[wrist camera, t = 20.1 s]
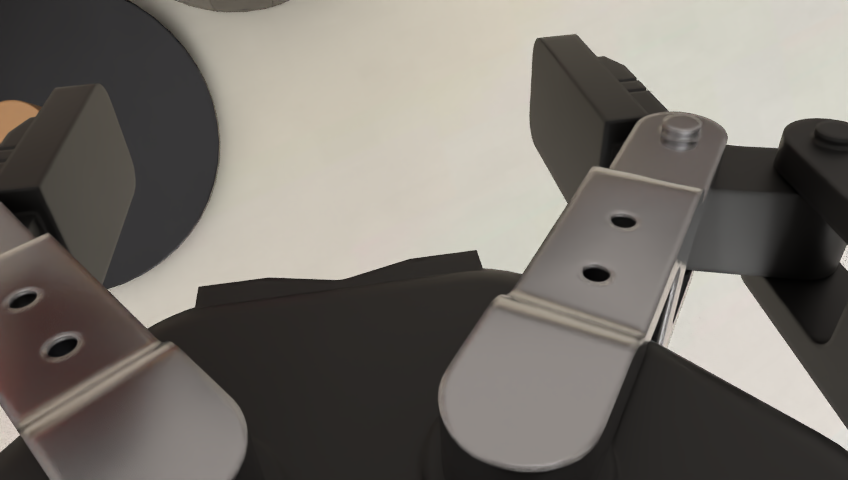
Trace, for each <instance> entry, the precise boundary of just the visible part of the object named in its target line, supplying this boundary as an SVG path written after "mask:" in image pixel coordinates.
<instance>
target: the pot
mask: <svg viewBox="0 0 848 480" xmlns="http://www.w3.org/2000/svg"><path fill="white" fill-rule="evenodd" d="M175 1H178V2H181V3H183V4H186V5H189V6H193V7H197V8H201V9H205V10H212V11H217V12H218V11H221V12H247V11H254V10H261V9H266V8H269V7H273V6H276V5H279V4H282V3H284V2H287V1H289V0H175Z"/></svg>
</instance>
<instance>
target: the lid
mask: <svg viewBox="0 0 848 480" xmlns="http://www.w3.org/2000/svg"><path fill="white" fill-rule="evenodd" d="M96 83H99V84H101V85H102V86H103V87H104V88H105V90H106V91H107V93H108V95H109V98H110V100H111V103H112V106H113V109H114V111H115V114H116V117H117V120H118V122H119V125H120V128H121V131H122V134H123V136H124V139H125V142H126V145H127V147H128V150H129V153H130V156H131V159H132V162H133V166H134V171H135V181H136V184H135V192H134V195H133V198H132V201H131V204H130V207H129V210H128V212H127V215H126V218H125V221H124V224H123V227H122V230H121V233H120V236H119V238H118V241H117V244H116V247H115V250H114V253H113V256H112V259H111V262H110V265H109V267H108V270H107V273H106V276H105V279H104V282H103V286H104V287H105V288H106V289H109V288H112V287H115V286H118V285H121V284H124V283H126V282H128V281H130V280H132V279H134V278H136V277H138V276H141V275H143V274H144V273H146V272H148V271H149V270H151V269H152V268H154V267H155V266H157V265H158V264H160V263H161V262H163V261H164V260H165V259H166V258H167V257H168V256H170V255H171V254H172V253H173V252H174V251H175V250H176V249H178V247H179V246H180V245H181V244H182V243H183V242H184V241H185V240H186V238H187V237H188V236H189V235H190V234H191V232H192V231H193V229H194V228H195V226H196V225H197V223H198V222H199V220H200V219H201V217H202V215H203V213H204V211H205V209H206V207H207V205H208V203H209V201H210V198H211V195H212V192H213V189H214V186H215V183H216V178H217V173H218V167H219V160H220V134H219V123H218V119H217V114H216V110H215V105H214V102H213V99H212V96H211V94H210V91H209V88H208V86H207V83H206V81H205V79H204V78H203V76H202V74H201V72H200V70H199V68H198V66H197V65H196V63H195V62H194V60H193V59H192V57H191V56H190V55H189V53H188V52H187V50H186V49H185V48H184V47H183V45H182V44H181V43H180V42H179V41H178V40H177V39H176V38H175V36H174V35H173V34H172V33H171V32H170V31H169V30H168V29H167V28H166V27H164V26H163V25H162V24H161V23H160V22H159V21H158V20H156V19H155V18H154V17H153V16H151V15H150V14H149V13H147V12H146V11H144V10H143V9H141V8H140V7H138V6H137V5H135V4H133V3H132V2H130V1H128V0H0V144H1V142H2V141H3V139H4V138H5V136H6V135H7V134H8V132H10V131H11V130H13V129H14V128H16V127H17V126H18V125H20V124H21V123H23V122H24V121H26V120H27V119H29V118H30V117H36V115H37V114H38V112H39V111H40V109H41V108H42V106H43V105H44V103H45V102H46V100H47V99H48V97H49V96H50V94H51V93H52V91H53V90H54V89H55V88H57V87H67V86H76V85H86V84H96Z"/></svg>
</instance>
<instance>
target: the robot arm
mask: <svg viewBox="0 0 848 480" xmlns="http://www.w3.org/2000/svg"><path fill="white" fill-rule="evenodd" d="M636 79H637V78H636V77H635V76H634V75H633V74H632V73H631V72H630V71H629V70H628V69H627V68H626V67H625V66H624V65H622V64H620V63H618V62H615V61H613V60H611V59H609V58H607V57H605V56H602V57H597V56H596V55H595V54H594V53H593V52H592V51H591V50H590V49H589V47H588V46H587V45H586V44H585V43H584V42H583V41H582V40H581V39H580V38H579V36H577V35H576V34H572V35H562V36H553V37H543V38H537V39H536V41H535V44H534V48H533V59H532V78H531V97H530V130H531V135H532V139H533V142H534V145H535V147H536V148H537V150H538V152H539V154H540V156H541V157H542V159H543V161H544V163H545V164H546V166H547V168H548V170H549V171H550V173H551V175H552V177H553V178H554V180H555V182H556V184H557V185H558V187H559V189H560V191H561V192H562V194H563V196H564V198H565V200H566V201H567V203H568V204H567V206H566V208H565V209H564V211H563V212H562V214H561V215H560V217H559V218H558V220H557V222H556V223H555V225H554V226H553V228H552V229H551V231H550V232H549V234H548V235H547V237H546V239H545V240H544V242H543V243H542V245H541V246H540V248H539V249H538V251H537V252H536V254H535V256H534V257H533V259H532V260H531V262H530V263H529V265H528V266H527V268H526V270H525V271H524V273H523V274H519V273H514V272H510V271H503V270H495V269H484V268H482V265H481V262H480V259H479V256H478V253H477V250H474V251H466V252H459V253H451V254H444V255H436V256H429V257H421V258H414V259H408V260H405V261H402V262H399V263H396V264H392V265H389V266H386V267H383V268H379V269H376V270H373V271H370V272H367V273H363V274H360V275H357V276H354V277H351V278H347V279H343V280H317V279H291V278H262V279H255V280H247V281H240V282H232V283H224V284H217V285H209V286H202V287H199V288H198V293H197V299H196V305H195V307H194V308H192V309H189V310H186V311H183V312H181V313H178V314H176V315H173V316H171V317H169V318H167V319H165V320H163V321H161V322H159V323H157V324H155V325H153V326H151V327H150V328H148V329H147V328H146V327H145V326H144V325H143V324H142V323H141V322H140V321H139V320H137V319H136V318H135V317H134V316H133V315H132V314H131V313H130V312H129V311H128V310H127V309H126V308H125V307H124V306H123V305H122V304H121V303H120V302H119V301H118V300H117V299H116V298H115V297H114V296H113V295H112V294H111V293H110V292H109V291H108V290H107V289H106V288H105V287H104V286H103V282H104V279H105V276H106V273H107V270H108V267H109V265H110V262H111V259H112V256H113V253H114V250H115V247H116V244H117V241H118V238H119V236H120V233H121V230H122V227H123V224H124V221H125V218H126V215H127V212H128V210H129V207H130V204H131V201H132V198H133V195H134V192H135V184H136V181H135V171H134V166H133V162H132V159H131V156H130V153H129V150H128V147H127V145H126V142H125V139H124V136H123V134H122V131H121V128H120V125H119V122H118V120H117V117H116V114H115V111H114V109H113V106H112V103H111V100H110V98H109V95H108V93H107V91H106V90H105V88H104V87H103V86H102V85H101V84H99V83H96V84H86V85H76V86H67V87H57V88H55V89H54V90H53V91H52V93H51V94H50V96H49V97H48V99H47V100H46V102H45V103H44V105H43V106H42V108H41V109H40V111H39V112H38V114H37V115H36V117H30V118H29V119H27V120H26V121H24V122H23V123H21V124H20V125H18V126H17V127H16V128H14V129H13V130H11V131H10V132H8V134H7V135H6V136H5V138H4V139H3V141H2V142H1V144H0V405H1V407H2V408H3V410H4V411H5V413H6V414H7V416H8V417H9V419H10V420H11V422H12V423H13V425H14V426H15V428H16V429H17V431H18V432H19V434H20V436H19V437H17V438H16V439H15V440H14V441H13V442H12V443H11V444H9V445H8V446H7V447H6V448H5V449H4V450H3V451H1V452H0V480H848V451H846V450H845V449H844V448H842V447H841V446H840V445H838V444H837V443H835V442H834V441H832V440H830V439H829V438H827V437H825V436H824V435H822V434H820V433H819V432H817V431H815V430H813V429H811V428H810V427H808V426H806V425H804V424H802V423H801V422H799V421H797V420H795V419H793V418H791V417H790V416H788V415H786V414H784V413H782V412H781V411H779V410H777V409H775V408H773V407H772V406H770V405H768V404H766V403H764V402H763V401H761V400H759V399H757V398H755V397H753V396H752V395H750V394H748V393H746V392H744V391H743V390H741V389H739V388H737V387H735V386H734V385H732V384H730V383H728V382H726V381H725V380H723V379H721V378H719V377H717V376H715V375H714V374H712V373H710V372H708V371H706V370H705V369H703V368H701V367H699V366H697V365H696V364H694V363H692V362H690V361H688V360H687V359H685V358H683V357H681V356H679V355H678V354H676V353H674V352H672V351H670V350H669V349H667V347H668V344H669V341H670V339H671V336H672V333H673V330H674V327H675V325H676V322H677V319H678V316H679V313H680V310H681V308H682V305H683V302H684V299H685V296H686V293H687V291H688V288H689V285H690V282H691V279H692V276H693V272H694V271H705V272H716V273H727V274H739V275H741V278H742V280H743V281H744V283H745V285H746V286H747V287H748V289H749V290H750V292H751V293H752V294H753V296H754V297H755V299H756V300H757V302H758V303H759V304H760V306H761V307H762V309H763V310H764V311H765V313H766V314H767V316H768V317H769V319H770V320H771V321H772V323H773V324H774V326H775V327H776V328H777V330H778V331H779V333H780V334H781V336H782V337H783V338H784V340H785V341H786V343H787V344H788V345H789V347H790V348H791V350H792V351H793V353H794V354H795V355H796V357H797V358H798V360H799V361H800V362H801V364H802V365H803V367H804V368H805V370H806V371H807V372H808V374H809V375H810V377H811V378H812V379H813V381H814V382H815V384H816V385H817V387H818V388H819V389H820V391H821V392H822V394H823V395H824V396H825V398H826V399H827V401H828V402H829V404H830V405H831V406H832V408H833V409H834V411H835V412H836V413H837V415H838V416H839V418H840V419H841V421H842V422H843V423H844V425H845V426H846V428H847V429H848V271H847V270H846V269H845V268H844V267H843V266H842V264H841V263H840V259H841V257H842V255H843V252H844V250H845V248H846V245H848V122H844V121H839V120H833V119H821V118H813V119H803V120H798V121H795V122H792V123H790V124H789V125H787V126H786V127H785V129H784V131H783V134H782V138H781V141H780V144H779V147H778V148H761V147H743V146H732V145H726V143H727V139H728V136H727V133H726V131H725V129H724V128H723V127H722V126H720V125H719V124H718V123H716V122H714V121H712V120H711V119H708V118H706V117H703V116H700V115H696V114H691V113H685V112H669V111H668V110H667V109H666V108H665V107H664V106H663V105H662V104H661V103H660V102H659V101H658V100H657V99H656V98H655V97H654V96H653V95H652V94H651V93H650V91H649V90H648V91H646V87H645V86H644V85H643V84H642V83H641V82H640V81H639V80H638V81H637V80H636Z"/></svg>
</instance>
